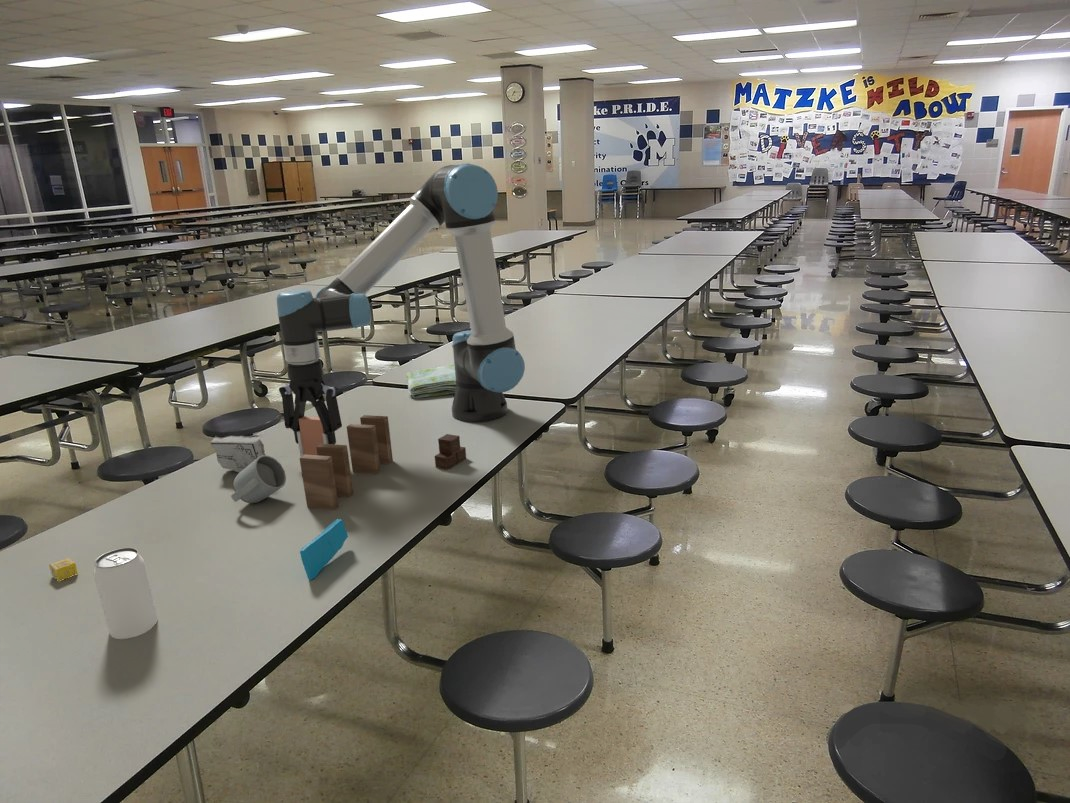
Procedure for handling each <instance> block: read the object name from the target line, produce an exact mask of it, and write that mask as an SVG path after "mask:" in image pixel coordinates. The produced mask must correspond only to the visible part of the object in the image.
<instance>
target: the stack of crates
mask: <svg viewBox="0 0 1070 803" xmlns="http://www.w3.org/2000/svg"><path fill="white" fill-rule="evenodd" d="M460 439H461V438H460V435H456V434H450V433H449V434H448V433H447V434H445V435H443V436H440V437H439V438H438V439H437V441H438V450H439V451H438V453H437V454H435V455H434V463H435V468H438V469H443V470H447V471H448V470H450V469H451V468H453V467H455V466H457V464H458V465H459V463H461V462H463V461H465V460H466V459H467V452H466V447H464V446H461V442H460V441H461V440H460Z"/></svg>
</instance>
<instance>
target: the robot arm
mask: <svg viewBox="0 0 1070 803" xmlns="http://www.w3.org/2000/svg"><path fill="white" fill-rule="evenodd" d="M498 195H499V192H498V186H497V183H496V180H495V179H494V177H493V176H492V174H491V173H490V172H489V171H488V170H487V169H485V168H484V167H482V166H480V165H477V164H473V163H472V164H471V163H461V164H450V165H446V166H445V165H444V166H442V167H440V168H439V169H437V170H436V171H435V172H434V173H432V175H430V177H429V178H428V179H427V180H426V181H425V182H424V183H423V184H422V185H421V187H419V189H418V190H417V191H416V192H415V193H414V194H413V195H412V196H410V198H409V205H407V207H406V208H405V209H404V210H402V212H401V213H400V214H399V215H398V216H397V217H396V218H395V219H394V220H393V221H392V222H391V223H390V224H388V226H387V227H386V228H385V229H384V230H383V231H382V232H381V233H380V234H379V235H378V236H377V237H375V239H374V240H373V241H372V242H371V243H370V244H369V245H367V246H366V248H365V249H363V251H362V252H361V253H360V254H358V256H357V257H355V259H353V261H351V263H350V264H349V265H347V267H345V269H344V270H343V271H342V272H340V273H339V275H338V276H337V277H336V278H335V279H334V280H332V282H330V283H329V284H328V285H327V286H324V287H322V288H320V289H319V290H318V291H317V293H316V294H315V296H313V294H312V292H311V290H308V289H292V290H285V291H282V292H280V293H278V294H277V296H276V307H277V317H278V323H279V327H280V334H281V340H282V345H283V351H284V358H285V361H286V362H287V364H286V372H287V377H288V380H289V384H288V383H287V384H284V385H283V386H280V387H279V388H278V392H279V394H280V396H281V400H282V409H283V410H282V412H283V420H284V427H285V428H286V429H290V430H292V431H293V433H294V434H293V435H294V439H295V440H294V441H295V443H296V444H297V445H298V449H299V456H300V457H302V456H303V455H304V450H303V444H302V437H301V432H300V426H299V419H300V418H301V417H303V416H305V414H306V413H305V411H306V407H307V406H306V405H307V402H309V403H310V404H311V405H312V407H314V409H315V411H316V414H317V415H318V416H317V417H319V418H320V421H321V423H322V425H323V428H324V430H325V432H324V433H323V434H322V435H323V442H324V444H335V445H337V444H336V443H337V438H336V431H338V430H340V429H341V428H342V426H343V423H342V420H341V414H340V410H339V409H340V408H339V404H338V399H337V395H338V394H337V393H338V387H337V386H336V385H334V386H332V387H331V386H328V385H326V383H325V381H324V379H323V377H324V372H323V371H324V370H323V364H322V360H321V357H322V356H321V355H322V354H321V350H320V343H319V342H320V341H319V336H318V335H319V334H318V333H324V332H331V331H332V332H333V331H340V330H348V329H358V328H362V327H366V326H369V325H370V323H371V321H372V314H371V312H372V311H371V307H370V306H371V305H370V302H369V298H368V296H367V295H366V294H368V293H369V292H370V291H371V290H372V289H373V288H374V287H375V286H376V285H377V284H378V283H379V282H381V280H382V279H383V278H384V277H385V276H386V275H387V274H388V273H389V272H390V271H391V270H392V269H393V268H394V267H395V266H396V265H397V264H398V263H399V262H400V261H401V260H402V259H403V258H404V257H405V256H406V255H407V253H409V252H410V251H411V250H412V249H413V248H414V246H416V245H417V244H418V243H419V242H420V241H421V240H422V239H423V238H424V237H425V236H426V235H427V234H428V233H429V232H430V231H431V230H432V229H439V228H440V227H441V226H442V225H443V224H444V223H445V229H446V231H448V232H450V233H451V234H452V235H453V236H454V243H455V249H456V253H457V259H458V260H457V261H458V264H459V265H458V266H459V270H460V275H461V276H460V277H461V281H462V288H463V292H464V298H465V304H466V309H467V315H468V320H469V326H470V329H469V330H463V331H459V332H458V331H457V332H456V333H454V334H453V336H452V344H451V346H452V353H453V362H454V364H453V365H455V376H456V392H455V394H454V395H453V396H454V397H453V399H452V400H453V401H452V405H451V415H452V417H453V418H454V419H455V420H458V421H462V422H468V423H470V422H472V423H474V422H475V423H478V422H488V421H489V422H490V421H493V420H496V419H500V418H502V417H504V416H506V415H507V413H508V402H507V400H506V397H505V395H504V393H505V392H509V391H511V390H512V389H514V388H515V387H516V386H518V385H519V384H520V381H521V380H522V378H523V377H524V373H525V369H526V368H525V365H526V364H525V361H524V358H523V356H522V354H521V353H520V352H519V351H518V350H517V348H516V343H515V342H516V341H515V336H514V332H513V331H512V330H510V329H509V328H508V327H507V324H506V319H505V312H504V307H503V301H502V295H501V288H500V282H499V275H498V270H497V269H498V268H497V264H496V257H495V252H494V244H493V239H492V232H491V229H492V227H493V226H494V224H495V223H496V217H495V210H494V208H495V206H496V205H497V202H498ZM323 393H324V394H323ZM293 394H294V396H293ZM324 396H325V397H324ZM300 457H299V458H300Z"/></svg>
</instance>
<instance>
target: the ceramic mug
mask: <svg viewBox="0 0 1070 803" xmlns="http://www.w3.org/2000/svg"><path fill="white" fill-rule="evenodd" d="M232 482H233V483H232V485H233V486H232V487H233V491H234V493H232V495H230V498H231V499H232V501H233V502H235V503H237V502H238V501H239V500H241V501H243V502H244V503H246V504H257V503H259V502H261V501H263V500H264V499H266V498H268V497H270V495H273V494H274V493H276V492H277V491H279V490H280V489H281V488H283V487H284V486H285V484H286V482H287V474H286V471H285V469H284V467H283V465H282V463H280V462H279V461H278V460H277V459H276V458H274V457H272V456H269V455H266V454H265V455H263V456H260V457H258V458H257V459H255V460H254V461H253V462H252V463H251V464H249V465H248V466H247V467H246V468H245V469H243V470H242V471H241V472H240V473H239V472H238V473H237V475H236V477H235V478H234V479H233V481H232Z"/></svg>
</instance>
